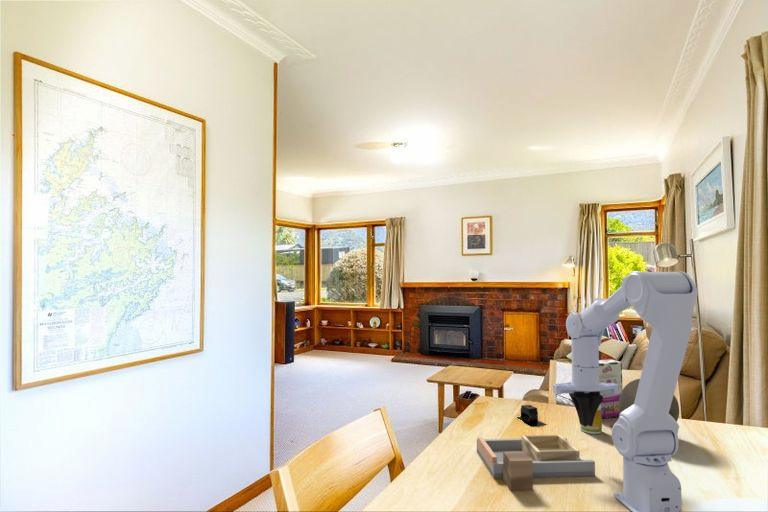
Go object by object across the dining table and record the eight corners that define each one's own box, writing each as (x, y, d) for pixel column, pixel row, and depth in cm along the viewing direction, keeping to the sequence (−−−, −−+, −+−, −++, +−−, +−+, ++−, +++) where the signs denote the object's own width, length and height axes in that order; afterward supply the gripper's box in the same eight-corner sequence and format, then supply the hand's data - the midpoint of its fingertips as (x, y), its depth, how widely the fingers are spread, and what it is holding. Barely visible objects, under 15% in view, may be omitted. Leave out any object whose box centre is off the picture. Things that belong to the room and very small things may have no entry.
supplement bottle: (604, 435, 117) (603, 398, 118) (582, 433, 118) (582, 397, 119) (598, 428, 122) (598, 393, 123) (578, 426, 124) (577, 391, 124)
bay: (595, 475, 94) (594, 456, 94) (493, 478, 93) (493, 459, 93) (565, 449, 108) (565, 433, 108) (476, 451, 106) (476, 435, 106)
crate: (579, 466, 96) (579, 450, 96) (537, 467, 95) (537, 451, 96) (560, 449, 105) (559, 434, 105) (521, 449, 105) (521, 435, 105)
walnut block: (532, 490, 88) (532, 460, 88) (510, 491, 87) (510, 460, 88) (524, 480, 92) (524, 451, 92) (503, 480, 92) (503, 451, 92)
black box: (553, 428, 124) (553, 411, 124) (531, 431, 122) (531, 414, 122) (526, 414, 136) (526, 399, 136) (505, 417, 133) (505, 401, 134)
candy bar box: (611, 411, 137) (610, 358, 137) (624, 416, 132) (623, 361, 133) (581, 414, 134) (580, 360, 134) (592, 420, 129) (592, 364, 130)
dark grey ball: (608, 435, 117) (607, 378, 118) (632, 423, 126) (631, 371, 126) (667, 452, 106) (666, 389, 107) (689, 438, 115) (688, 381, 115)
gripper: (605, 361, 106) (606, 418, 105) (547, 362, 105) (547, 419, 105) (623, 367, 99) (624, 429, 98) (560, 368, 98) (561, 430, 98)
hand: (585, 424), depth 101 cm, fingers closed
